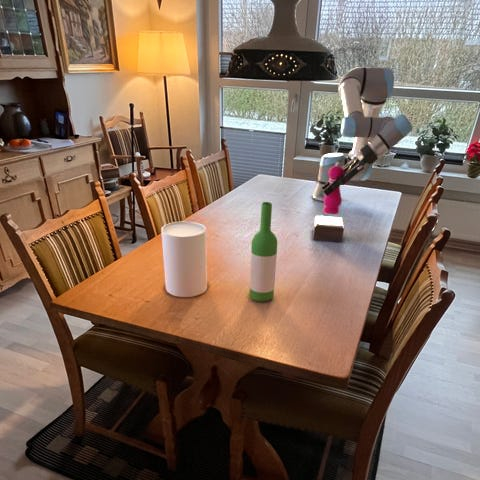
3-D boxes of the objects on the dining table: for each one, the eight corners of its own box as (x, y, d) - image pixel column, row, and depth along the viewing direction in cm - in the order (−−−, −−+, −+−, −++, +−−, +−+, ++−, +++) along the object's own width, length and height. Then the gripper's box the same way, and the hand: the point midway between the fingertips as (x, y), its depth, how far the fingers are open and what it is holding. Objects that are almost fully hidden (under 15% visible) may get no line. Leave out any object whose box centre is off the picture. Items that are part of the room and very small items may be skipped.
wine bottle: (244, 296, 132) (247, 202, 116) (260, 288, 136) (266, 197, 120) (261, 305, 127) (267, 209, 111) (278, 297, 132) (286, 203, 116)
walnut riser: (313, 230, 185) (315, 215, 181) (340, 232, 184) (343, 217, 180) (313, 240, 175) (315, 224, 171) (341, 242, 174) (344, 226, 170)
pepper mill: (319, 210, 175) (325, 160, 165) (333, 208, 178) (340, 159, 167) (327, 215, 170) (335, 164, 159) (343, 213, 172) (351, 163, 161)
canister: (212, 281, 140) (212, 224, 129) (198, 299, 129) (196, 239, 118) (175, 275, 143) (172, 219, 132) (158, 293, 132) (153, 233, 121)
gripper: (383, 162, 153) (332, 204, 163) (373, 153, 169) (327, 192, 178) (371, 147, 151) (320, 190, 161) (363, 139, 166) (316, 179, 176)
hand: (324, 191), depth 169 cm, fingers closed on pepper mill, 5 cm apart
